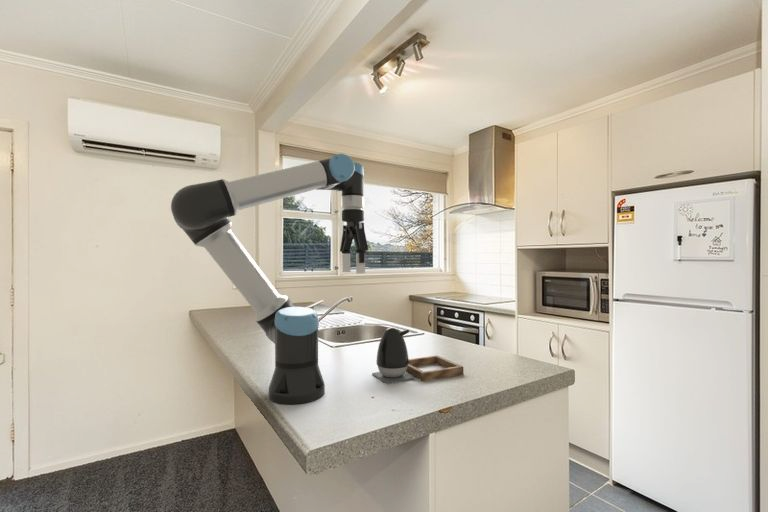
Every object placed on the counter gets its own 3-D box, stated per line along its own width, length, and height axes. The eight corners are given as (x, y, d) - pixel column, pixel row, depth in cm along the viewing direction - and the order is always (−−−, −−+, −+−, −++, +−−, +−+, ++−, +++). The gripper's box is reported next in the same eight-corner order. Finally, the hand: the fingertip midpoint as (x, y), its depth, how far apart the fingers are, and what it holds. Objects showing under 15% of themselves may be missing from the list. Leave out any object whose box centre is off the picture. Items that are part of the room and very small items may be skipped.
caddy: (422, 381, 113) (422, 373, 113) (398, 368, 127) (398, 360, 127) (463, 374, 120) (463, 366, 120) (436, 362, 134) (436, 355, 134)
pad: (385, 384, 111) (385, 382, 111) (372, 374, 120) (372, 372, 120) (414, 379, 115) (414, 377, 115) (399, 370, 124) (399, 368, 124)
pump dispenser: (410, 380, 112) (410, 330, 112) (375, 380, 113) (375, 330, 113) (408, 370, 123) (408, 324, 123) (377, 370, 123) (376, 324, 123)
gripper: (378, 205, 116) (378, 273, 116) (350, 214, 138) (351, 271, 138) (355, 204, 113) (356, 274, 113) (331, 213, 135) (331, 271, 135)
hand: (353, 272), depth 125 cm, fingers open, 13 cm apart
